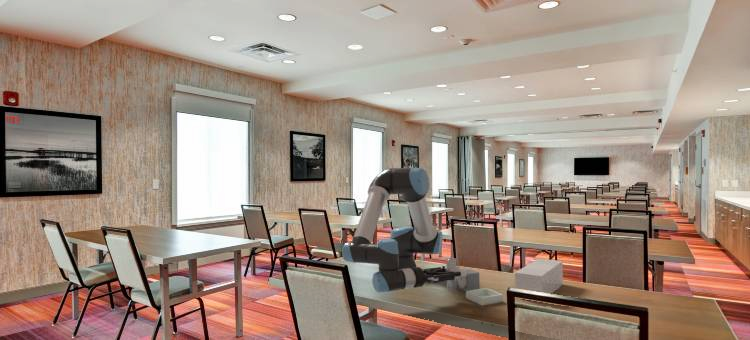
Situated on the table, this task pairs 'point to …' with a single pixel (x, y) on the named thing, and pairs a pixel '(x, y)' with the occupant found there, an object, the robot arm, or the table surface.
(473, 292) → the parts tray
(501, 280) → the table surface
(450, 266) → the stop pin
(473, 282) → the crank housing
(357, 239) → the robot arm
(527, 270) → the light grey block
